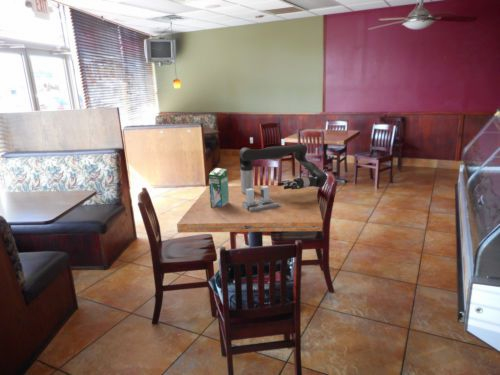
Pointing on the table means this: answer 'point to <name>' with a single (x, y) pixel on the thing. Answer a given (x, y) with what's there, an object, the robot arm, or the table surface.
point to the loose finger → (264, 193)
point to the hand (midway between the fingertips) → (280, 186)
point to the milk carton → (218, 187)
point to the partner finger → (250, 196)
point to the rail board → (260, 205)
